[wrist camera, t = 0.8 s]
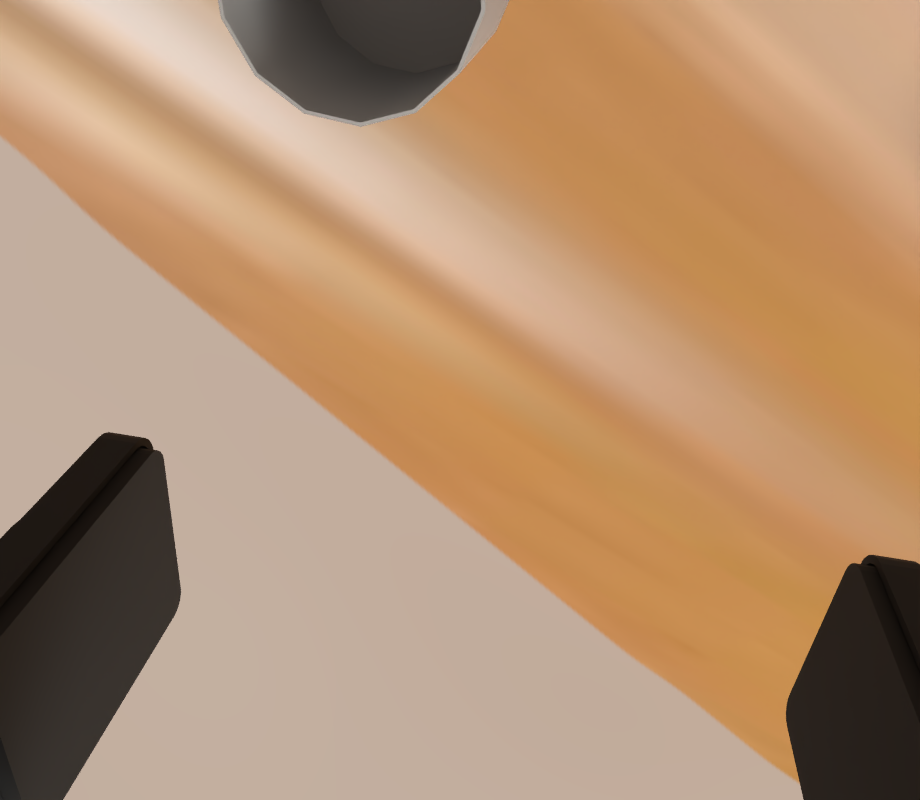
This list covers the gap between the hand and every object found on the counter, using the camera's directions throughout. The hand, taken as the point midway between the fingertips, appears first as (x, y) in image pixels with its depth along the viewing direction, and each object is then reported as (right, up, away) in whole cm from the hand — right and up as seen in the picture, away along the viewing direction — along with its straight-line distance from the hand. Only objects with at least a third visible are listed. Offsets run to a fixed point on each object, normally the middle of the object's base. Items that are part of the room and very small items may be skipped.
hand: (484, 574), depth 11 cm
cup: (-2, +20, +22) cm, 30 cm away
